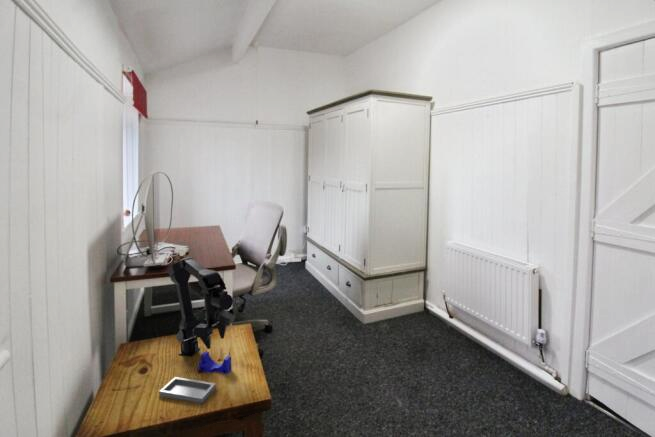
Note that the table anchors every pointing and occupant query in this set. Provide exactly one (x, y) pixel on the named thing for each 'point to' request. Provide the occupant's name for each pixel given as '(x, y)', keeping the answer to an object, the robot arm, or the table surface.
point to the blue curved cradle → (214, 364)
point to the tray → (187, 390)
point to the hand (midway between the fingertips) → (215, 343)
